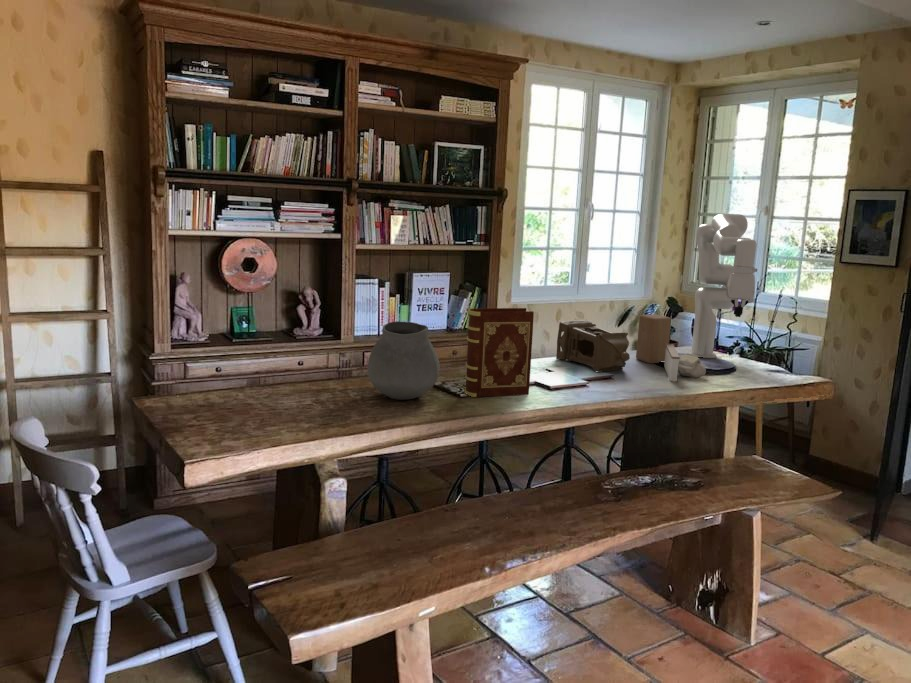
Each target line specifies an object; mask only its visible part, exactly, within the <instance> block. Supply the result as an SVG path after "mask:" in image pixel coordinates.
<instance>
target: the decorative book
mask: <svg viewBox="0 0 911 683" xmlns="http://www.w3.org/2000/svg"><path fill="white" fill-rule="evenodd" d="M534 312H535V311H533V310H532V311H529V310H528V311H527V308H526V307H515V308H514V307H511V308H510V307H503V308H502V307H501V308H500V307H498V308H497V307H496V308H495V307H492V308H489V307H488V308H486V307H483V308H481V307H480V308H478V307H477V308H472V307H471V308H470V307H469V308H468V310H467V314H468V324H467V329H468V332H467V336H466V340H467V354H466V355H467V356H466V362H465V368H466V374H465V375H464V378H465V388H464V394H465V393H467V394H468V395H470V396H471V398H477V397H479V398H481V397H482V398H483V397H508V396H526V395H527V396H528V395H529V393H530V381H531V380H530V379H531V368H532V365H531V364H532V349H533V336H534V332H533V331H534V315H535V314H534ZM470 396H469V397H470Z"/></svg>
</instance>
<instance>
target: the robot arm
mask: <svg viewBox="0 0 911 683" xmlns="http://www.w3.org/2000/svg"><path fill="white" fill-rule="evenodd" d="M748 223H749V222H748V219H747V217H746V216H745V215H743V214H740V213H739V214H738V213H737V214H735V213H720V214H719V213H718V214H717V215H715V216H714V217H713V218H712V219H711V223H703V224H700V225H699V226H698V227H697V229H696V233H695V242H696V245H697V249H698V255H699V256H698V257H699V260H698V261H699V263H698V265H699V266H698V279H699V282H700V283H701V284H703V285H710V286H711V285H715V286H722V287H710V286H706V287H705V286H703V287H700V288H698V289H696V291H695V294H694V308H695V309H694V310H695V311H694V321H693V322H694V323H693V331H692V341H691V349H690V350H688V351H687V354H686V355H688V356H695V357H703V358H702V359H715V358H717V354H716V353H715V352H714V346H715V337H716V328H717V321H718V320H717V319H718V318H717V316H716V314H715V313H714V312H713V309H716V310H718V309H719V310H730V309H732V308H733V315H734V316H735V317H736V318H737V317H738V318H741V316H742V315H743V313H744V312H743V311H744V307H745V306H747V305H748V304H754V302H755V294H756V293H755V291H756V290H755V289H756V276H755V273H757V272H758V268H755V260H756V251H757V241H756V240H755V239H752V238H750V237H743V236H744V234H746V231H747V229H748ZM720 256H723V257H724V256H725V257H734V258H733V265H731V264H727V263H720ZM739 300H740V303H739Z"/></svg>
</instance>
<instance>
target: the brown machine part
mask: <svg viewBox="0 0 911 683" xmlns="http://www.w3.org/2000/svg"><path fill="white" fill-rule="evenodd" d="M558 324H559V325H558V331H557V332H558V333H557V341H556V355H555V356H556V357H555V359H556V360H562V361H564V360H565V361H566V362H569V363H570V362H575V363H576V362H578V363H580V364H582V365H587V366H590V367H592V369H593V370H594V371H602V372H609V371H616V370H623V368H625V367H626V364H627V363H626V362H628V361H629V360H630V353H628V352H627V350H628V348H629V346H630V341H629V339H628V335H629V333H628V332H611V331H609V330H607V329H604V328H602V327H599V326H597V325H596V323H593V321H592V322H591V321H590V320H588V319H582V320H581V319H580V320H578V319H577V320H575V319H574V320H565V321H559V323H558ZM562 333H563V334H562Z"/></svg>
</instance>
